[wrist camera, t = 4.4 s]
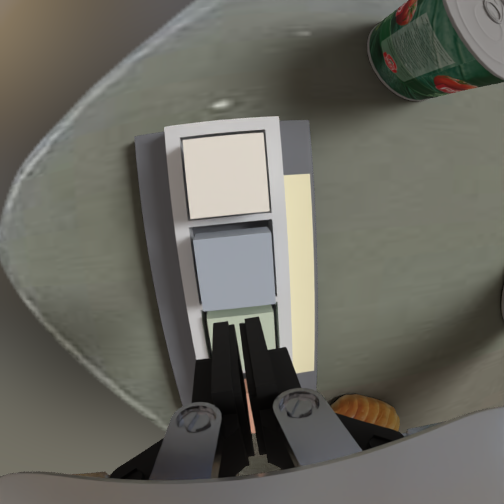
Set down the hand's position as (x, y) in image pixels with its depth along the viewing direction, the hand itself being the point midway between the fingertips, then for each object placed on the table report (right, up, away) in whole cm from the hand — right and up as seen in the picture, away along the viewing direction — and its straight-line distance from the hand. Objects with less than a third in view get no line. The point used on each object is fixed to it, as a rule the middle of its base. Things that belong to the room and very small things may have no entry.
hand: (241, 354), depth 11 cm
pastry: (+12, -15, +19) cm, 27 cm away
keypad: (-1, +1, +13) cm, 13 cm away
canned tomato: (+14, +20, +10) cm, 26 cm away
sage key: (0, -2, +12) cm, 12 cm away
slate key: (-1, +3, +9) cm, 9 cm away
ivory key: (-1, +8, +7) cm, 11 cm away
